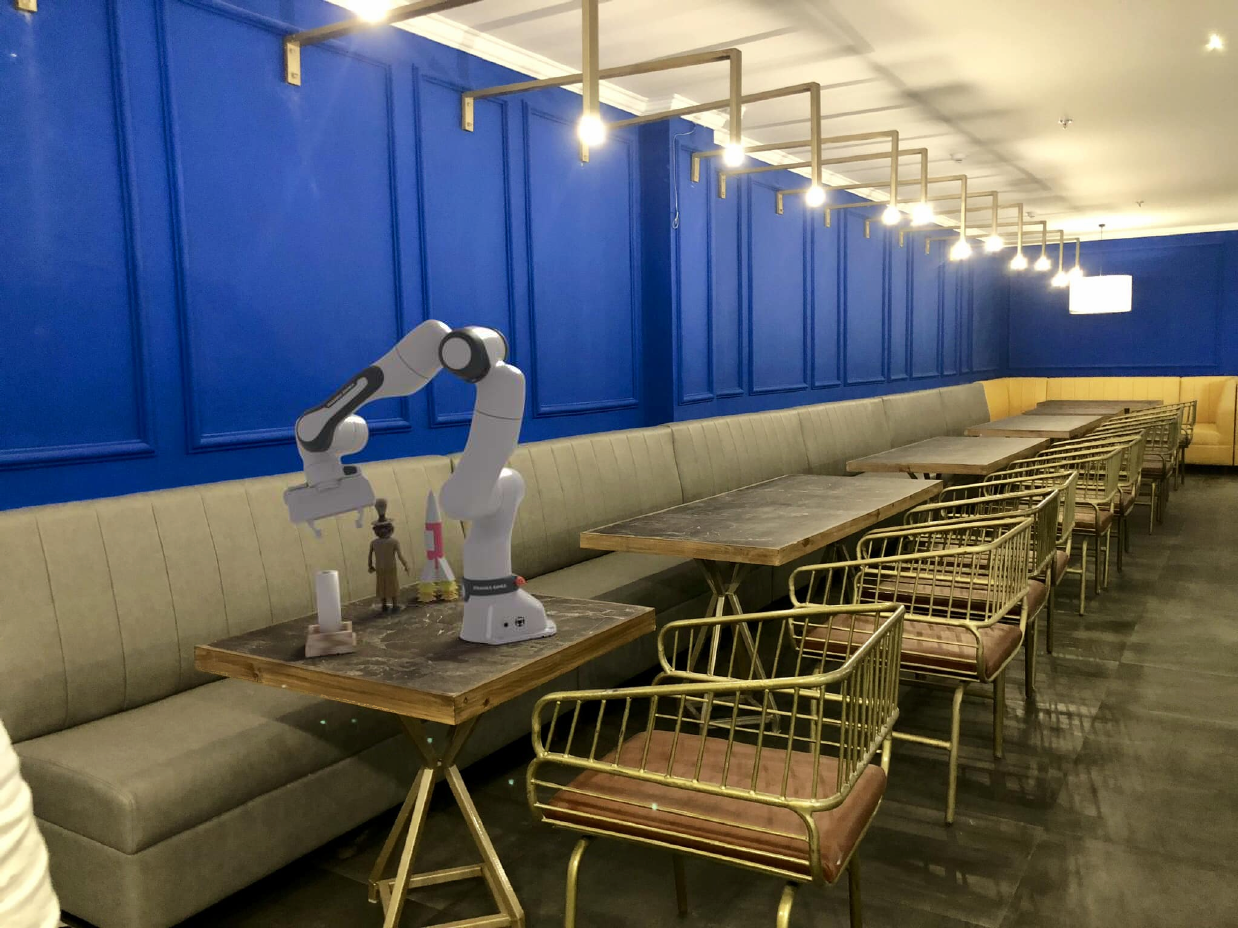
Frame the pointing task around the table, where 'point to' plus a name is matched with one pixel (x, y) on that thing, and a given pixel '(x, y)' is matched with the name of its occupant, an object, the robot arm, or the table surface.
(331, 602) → the roll
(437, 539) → the toy rocket
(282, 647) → the table surface
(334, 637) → the holder
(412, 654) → the table surface
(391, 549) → the figurine
